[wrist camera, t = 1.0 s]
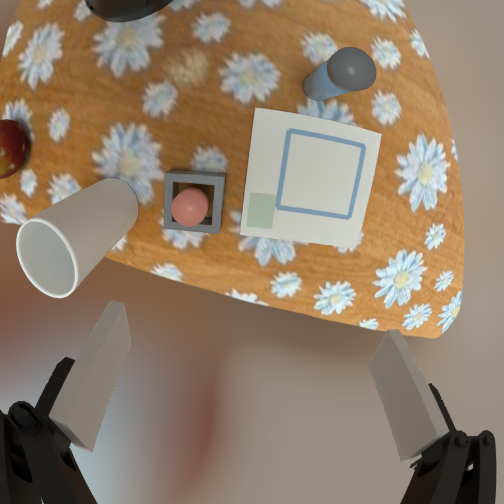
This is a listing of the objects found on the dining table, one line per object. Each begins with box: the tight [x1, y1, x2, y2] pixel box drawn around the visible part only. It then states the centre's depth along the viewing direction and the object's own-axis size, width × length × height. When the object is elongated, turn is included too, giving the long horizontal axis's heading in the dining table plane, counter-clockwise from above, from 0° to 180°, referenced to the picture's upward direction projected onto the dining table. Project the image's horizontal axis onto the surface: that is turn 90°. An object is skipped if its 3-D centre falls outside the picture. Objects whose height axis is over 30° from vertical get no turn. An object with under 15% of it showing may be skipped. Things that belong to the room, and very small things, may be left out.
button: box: [171, 187, 209, 227], centre depth 31 cm, size 4×4×2 cm
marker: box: [303, 47, 376, 101], centre depth 22 cm, size 4×4×12 cm
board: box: [240, 108, 382, 248], centre depth 32 cm, size 16×16×1 cm
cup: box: [16, 178, 139, 298], centre depth 27 cm, size 8×8×16 cm
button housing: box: [164, 170, 226, 234], centre depth 33 cm, size 7×7×2 cm
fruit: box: [0, 119, 26, 179], centre depth 25 cm, size 10×9×8 cm
